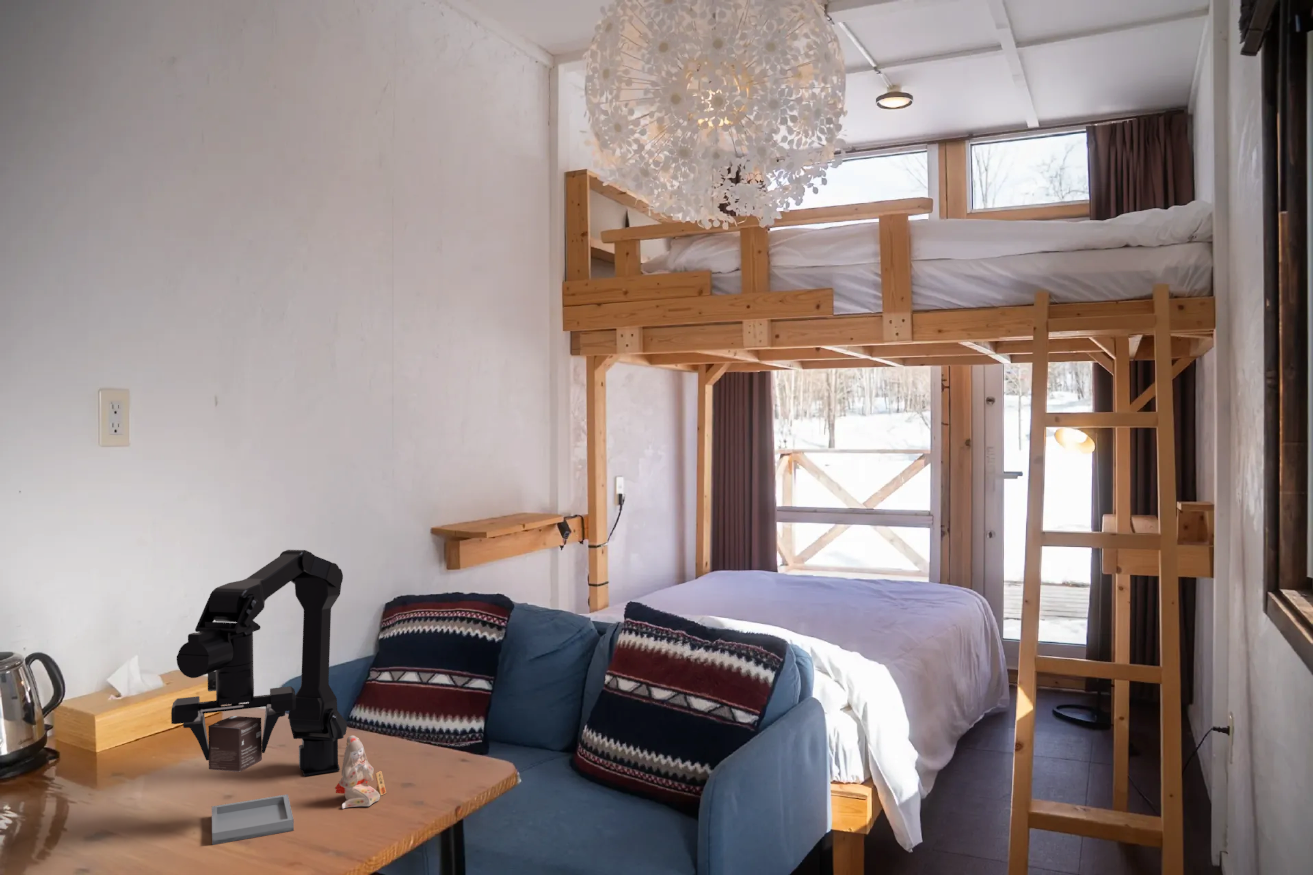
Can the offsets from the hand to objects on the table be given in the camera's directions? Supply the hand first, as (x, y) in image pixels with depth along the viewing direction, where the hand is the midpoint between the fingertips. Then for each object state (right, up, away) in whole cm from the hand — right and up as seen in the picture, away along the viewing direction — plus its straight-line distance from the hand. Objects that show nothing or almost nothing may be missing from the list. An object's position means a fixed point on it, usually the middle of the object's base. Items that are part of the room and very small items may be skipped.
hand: (235, 755), depth 158 cm
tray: (+3, -11, -1) cm, 11 cm away
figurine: (+18, -11, +9) cm, 23 cm away
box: (0, -2, 0) cm, 2 cm away
